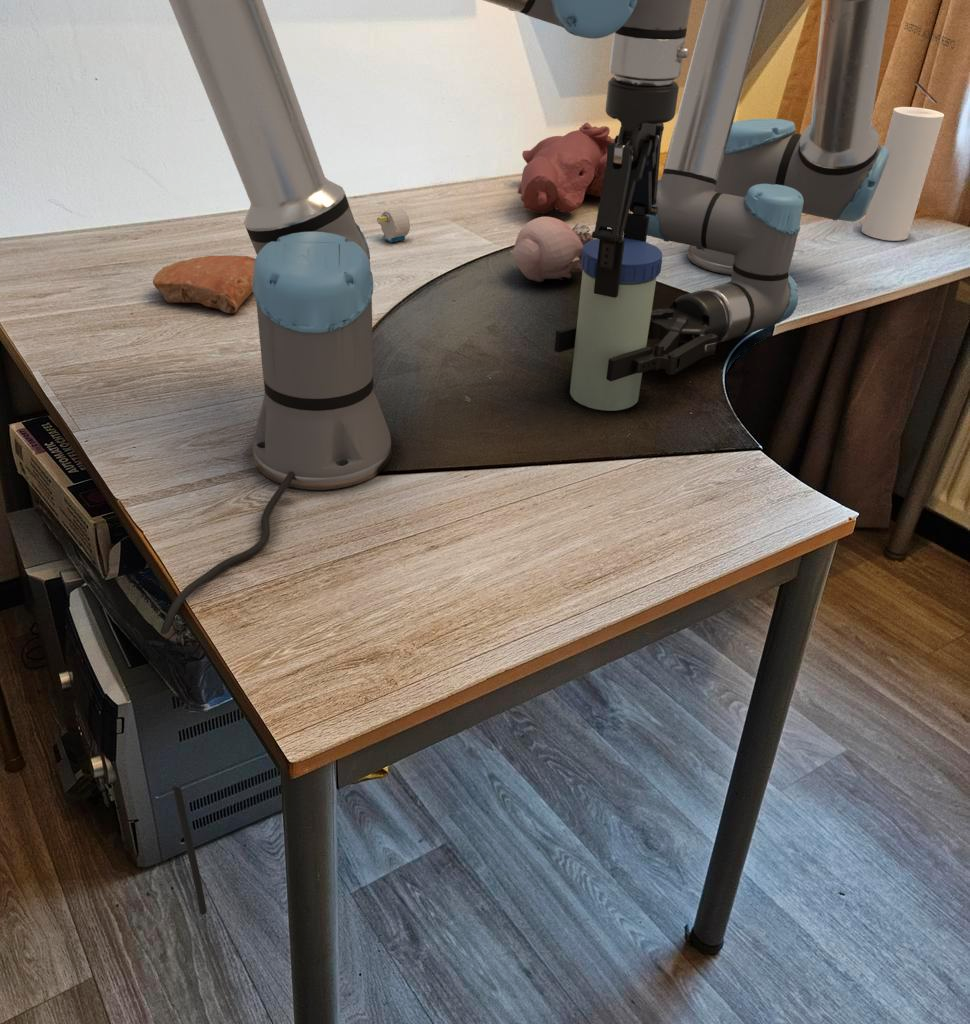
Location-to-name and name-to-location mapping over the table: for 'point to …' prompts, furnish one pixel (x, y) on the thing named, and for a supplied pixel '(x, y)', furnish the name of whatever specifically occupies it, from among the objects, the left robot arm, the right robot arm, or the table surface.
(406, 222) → the electric motor
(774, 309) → the right robot arm
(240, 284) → the ceramic shard
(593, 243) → the lid
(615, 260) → the left robot arm
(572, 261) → the toy
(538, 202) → the reddish brown figurine
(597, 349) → the jar
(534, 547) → the table surface
